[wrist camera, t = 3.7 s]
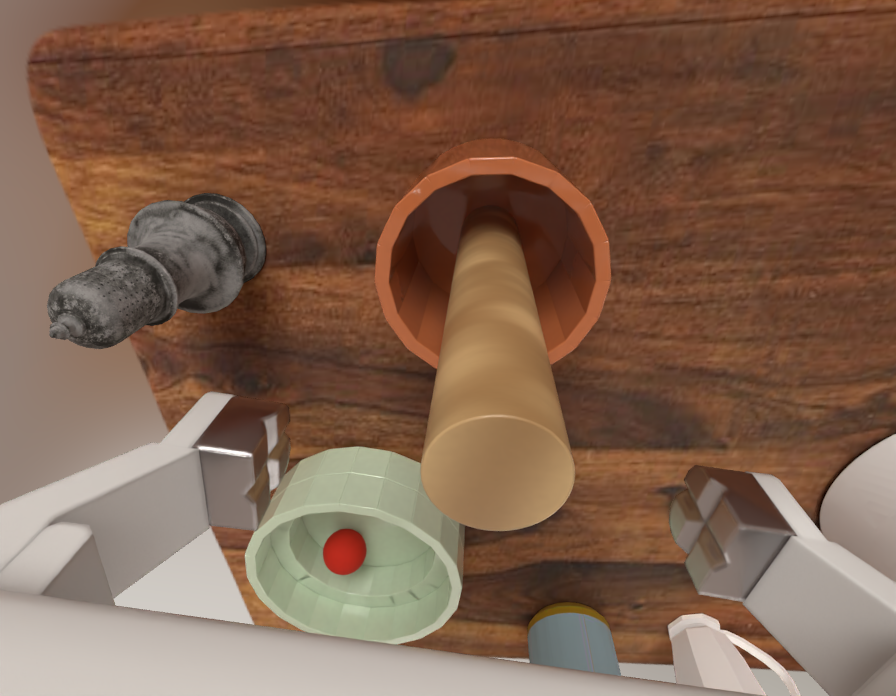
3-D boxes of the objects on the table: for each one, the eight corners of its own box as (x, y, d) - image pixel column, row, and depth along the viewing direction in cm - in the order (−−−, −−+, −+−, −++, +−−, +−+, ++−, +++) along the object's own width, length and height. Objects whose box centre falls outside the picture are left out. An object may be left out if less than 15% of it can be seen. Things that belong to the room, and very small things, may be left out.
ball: (371, 522, 36) (362, 559, 33) (369, 550, 38) (360, 587, 35) (330, 516, 36) (317, 552, 33) (329, 544, 38) (317, 581, 35)
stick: (523, 210, 24) (595, 430, 8) (511, 265, 26) (554, 541, 10) (465, 200, 24) (429, 404, 8) (456, 257, 26) (412, 520, 10)
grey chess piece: (236, 171, 25) (57, 229, 15) (289, 272, 28) (168, 383, 17) (147, 208, 26) (-77, 285, 16) (205, 301, 29) (46, 420, 18)
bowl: (479, 456, 33) (478, 525, 28) (450, 584, 40) (444, 658, 35) (276, 425, 33) (237, 487, 28) (282, 558, 40) (251, 629, 35)
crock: (597, 152, 23) (645, 177, 16) (551, 320, 28) (574, 396, 21) (414, 122, 23) (384, 135, 16) (397, 296, 28) (368, 364, 21)
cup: (665, 598, 39) (705, 710, 32) (786, 613, 39) (853, 729, 32) (640, 646, 42) (671, 757, 35) (752, 660, 42) (805, 774, 35)
